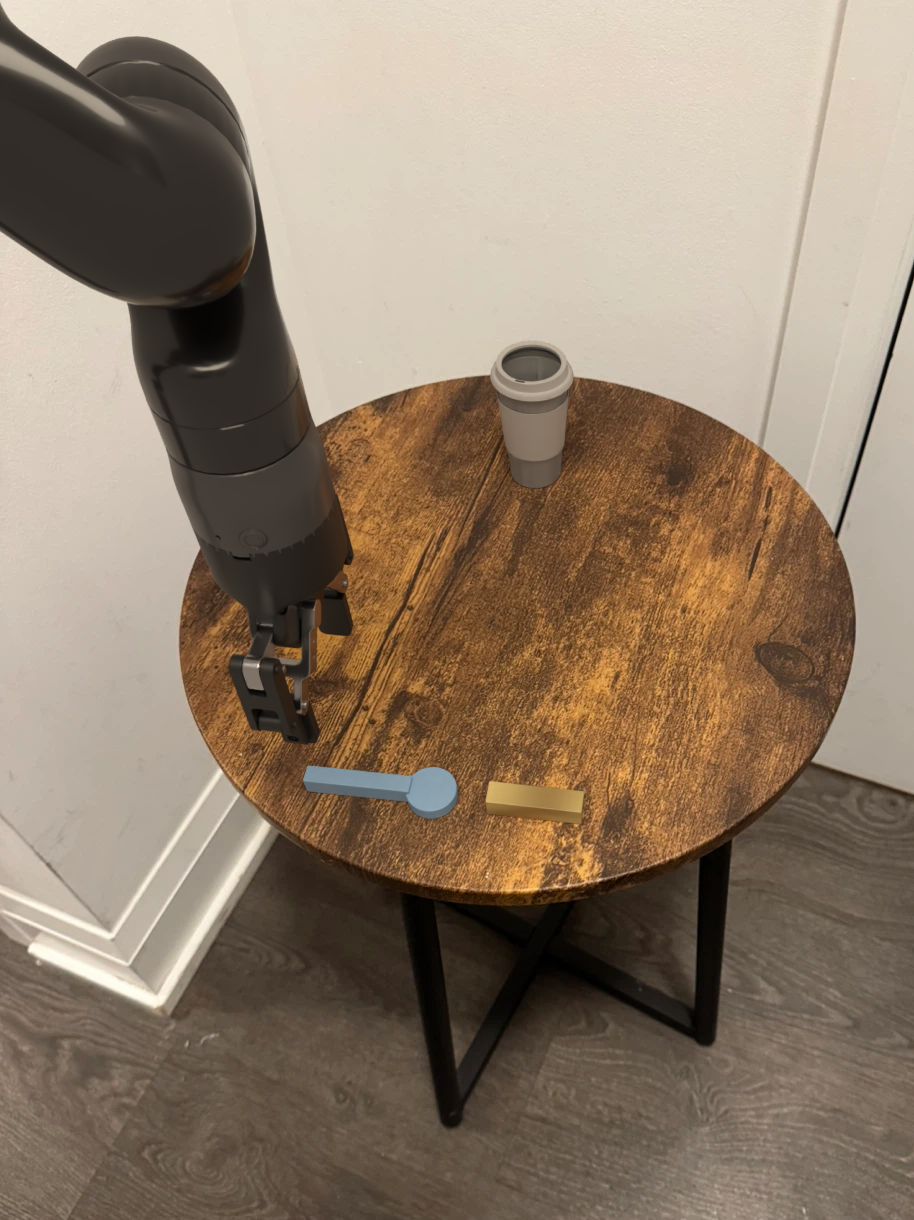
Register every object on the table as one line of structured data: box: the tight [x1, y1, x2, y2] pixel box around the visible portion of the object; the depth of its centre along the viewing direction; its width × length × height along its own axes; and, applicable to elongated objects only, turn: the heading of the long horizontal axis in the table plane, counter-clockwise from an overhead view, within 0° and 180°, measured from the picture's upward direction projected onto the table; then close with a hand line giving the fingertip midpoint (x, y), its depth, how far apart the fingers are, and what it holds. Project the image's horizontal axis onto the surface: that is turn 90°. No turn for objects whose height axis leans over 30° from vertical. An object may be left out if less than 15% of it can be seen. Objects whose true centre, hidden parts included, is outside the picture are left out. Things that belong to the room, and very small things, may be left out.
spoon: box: [302, 765, 459, 820], centre depth 77 cm, size 11×4×2 cm, turn 82°
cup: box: [489, 340, 575, 489], centre depth 92 cm, size 7×7×12 cm
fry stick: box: [484, 780, 585, 825], centre depth 76 cm, size 7×2×2 cm, turn 82°
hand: (320, 682), depth 67 cm, fingers open, 8 cm apart
